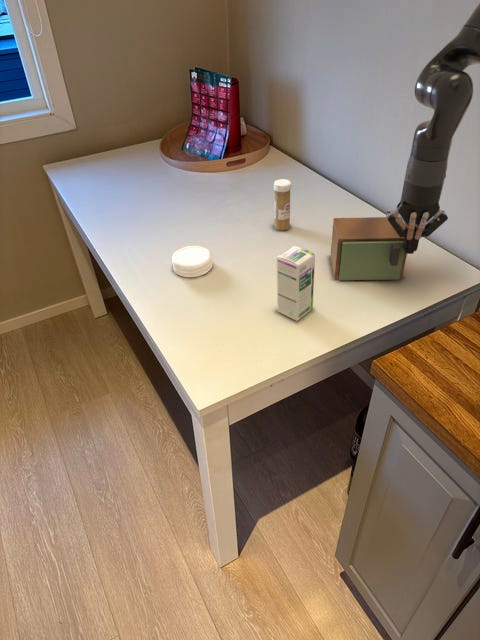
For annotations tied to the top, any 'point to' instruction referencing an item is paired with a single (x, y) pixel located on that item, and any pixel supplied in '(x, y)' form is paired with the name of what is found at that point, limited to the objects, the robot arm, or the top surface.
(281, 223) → the sprinkles bottle
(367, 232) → the cupboard
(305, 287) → the syrup box
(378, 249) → the sliding door
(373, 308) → the top surface
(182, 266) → the white short cylinder
